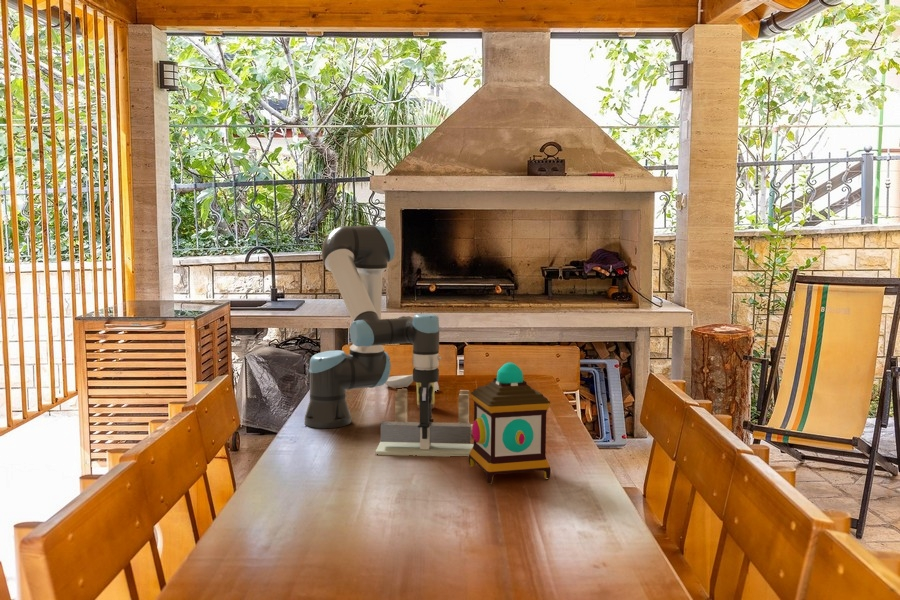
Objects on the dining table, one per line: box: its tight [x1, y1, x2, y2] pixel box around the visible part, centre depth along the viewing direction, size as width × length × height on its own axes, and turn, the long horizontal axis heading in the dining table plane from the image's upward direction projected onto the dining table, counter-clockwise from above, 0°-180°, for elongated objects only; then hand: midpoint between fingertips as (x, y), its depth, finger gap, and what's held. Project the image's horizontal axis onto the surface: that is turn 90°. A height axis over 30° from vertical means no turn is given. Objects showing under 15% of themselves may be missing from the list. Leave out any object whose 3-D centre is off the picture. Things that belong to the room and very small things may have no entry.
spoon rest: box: [384, 374, 440, 393], centre depth 334 cm, size 24×12×7 cm, turn 61°
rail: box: [380, 420, 472, 444], centre depth 247 cm, size 26×4×5 cm, turn 86°
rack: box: [394, 388, 473, 433], centre depth 270 cm, size 26×7×12 cm, turn 86°
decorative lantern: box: [468, 361, 551, 485], centre depth 225 cm, size 20×20×30 cm
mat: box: [374, 441, 474, 457], centre depth 247 cm, size 28×10×1 cm, turn 86°
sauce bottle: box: [415, 382, 436, 410], centre depth 300 cm, size 7×6×20 cm
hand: (425, 446), depth 247 cm, fingers open, 4 cm apart
